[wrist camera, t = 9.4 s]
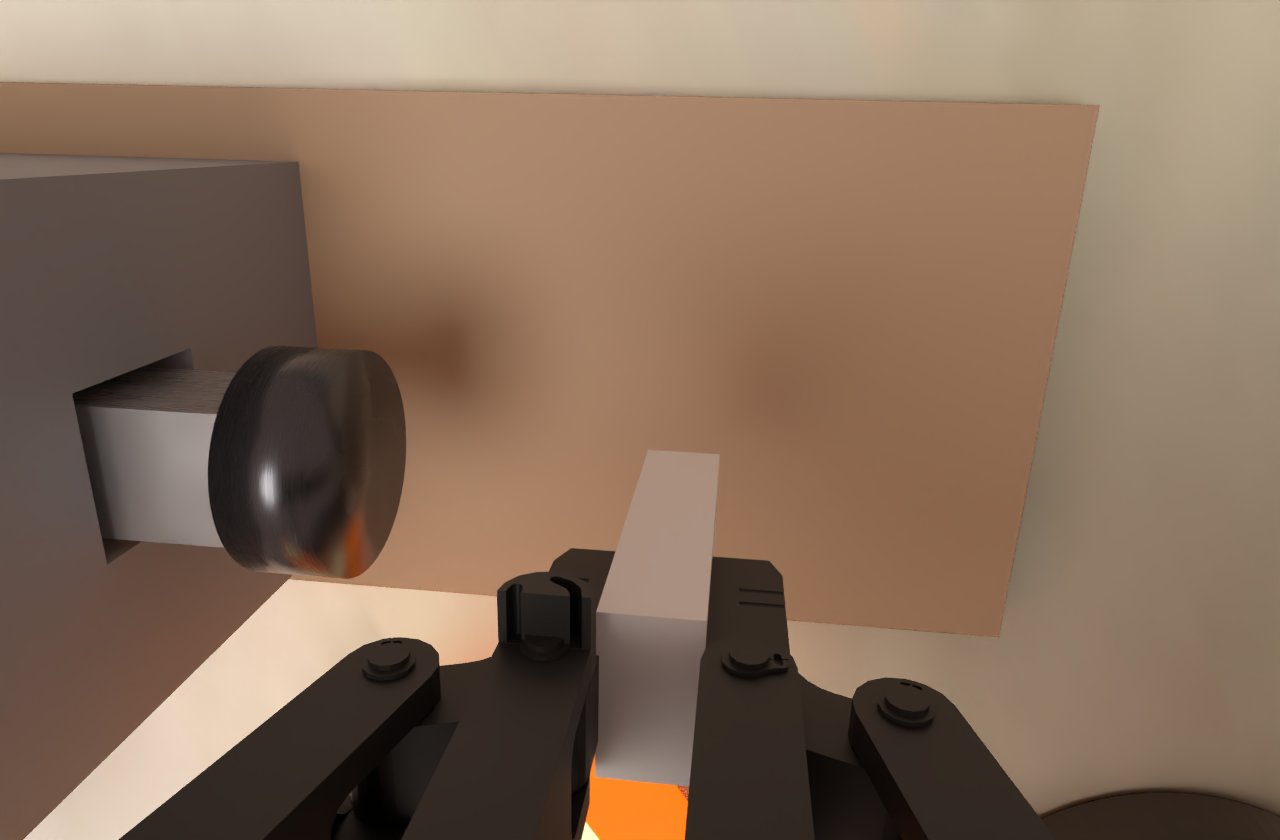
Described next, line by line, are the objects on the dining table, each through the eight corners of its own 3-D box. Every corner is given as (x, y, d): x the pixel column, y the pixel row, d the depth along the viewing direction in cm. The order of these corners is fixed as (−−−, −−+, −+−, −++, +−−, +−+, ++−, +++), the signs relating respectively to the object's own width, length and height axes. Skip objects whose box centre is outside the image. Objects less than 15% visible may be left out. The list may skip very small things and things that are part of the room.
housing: (1078, 107, 23) (1654, 59, 9) (985, 612, 28) (1247, 1119, 14) (-47, 83, 26) (-1012, 19, 12) (56, 538, 32) (-528, 882, 17)
